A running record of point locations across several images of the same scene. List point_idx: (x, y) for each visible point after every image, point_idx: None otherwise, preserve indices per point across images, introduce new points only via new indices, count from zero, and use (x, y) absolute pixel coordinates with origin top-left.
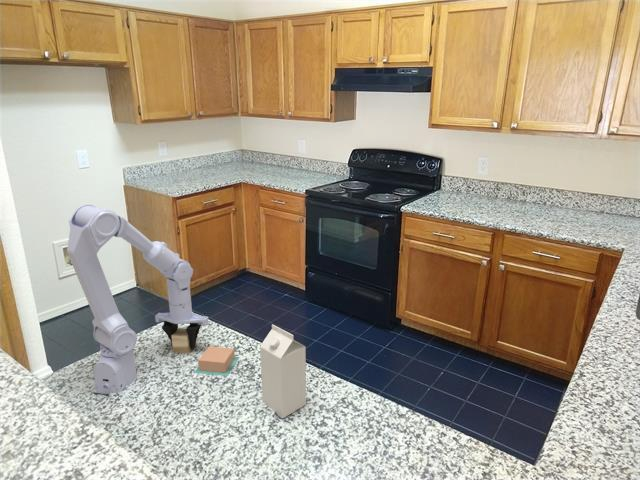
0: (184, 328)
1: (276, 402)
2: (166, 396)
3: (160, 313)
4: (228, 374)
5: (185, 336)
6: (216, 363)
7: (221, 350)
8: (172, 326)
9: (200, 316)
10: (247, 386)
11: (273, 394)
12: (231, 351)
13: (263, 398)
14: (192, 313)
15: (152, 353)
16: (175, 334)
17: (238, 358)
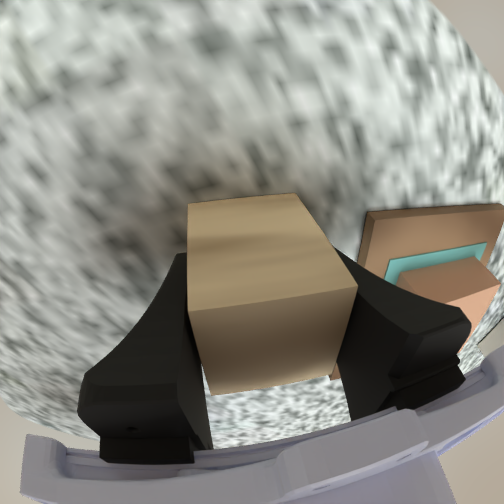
0: (252, 304)
1: None
2: (304, 408)
3: (40, 497)
4: None
5: (319, 374)
6: None
7: (466, 311)
8: (206, 434)
9: (493, 407)
10: None
11: None
12: (490, 301)
13: (484, 356)
14: (440, 447)
15: (87, 299)
16: (230, 382)
17: (483, 251)
